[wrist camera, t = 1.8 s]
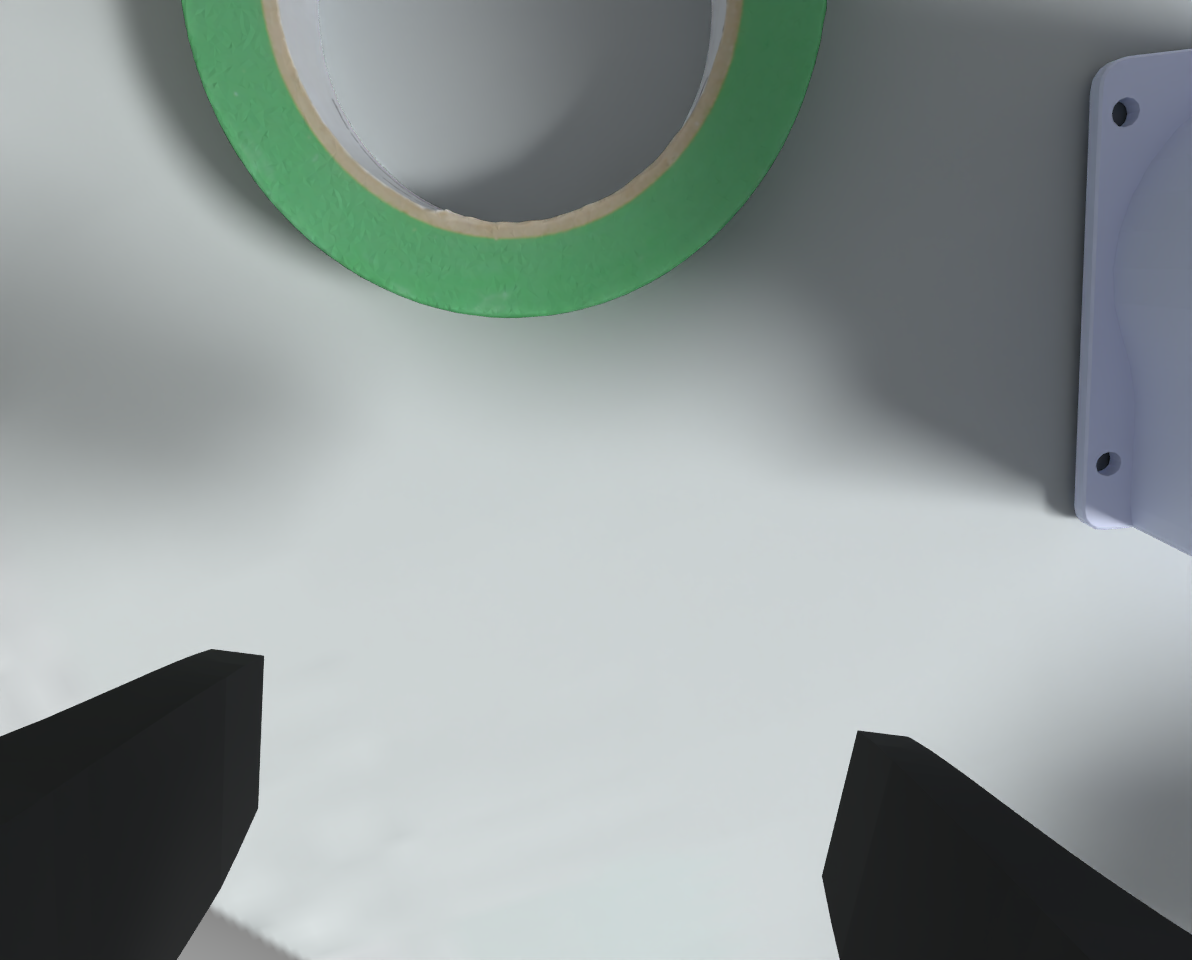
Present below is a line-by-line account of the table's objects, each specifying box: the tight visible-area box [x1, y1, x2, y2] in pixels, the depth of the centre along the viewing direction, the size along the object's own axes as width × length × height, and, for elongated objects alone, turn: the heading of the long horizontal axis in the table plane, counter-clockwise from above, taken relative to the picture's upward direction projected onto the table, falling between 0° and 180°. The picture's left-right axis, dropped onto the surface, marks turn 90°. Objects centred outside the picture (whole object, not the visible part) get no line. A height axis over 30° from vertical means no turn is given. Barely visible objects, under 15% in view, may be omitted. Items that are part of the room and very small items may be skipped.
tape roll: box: [181, 0, 827, 318], centre depth 15 cm, size 11×11×3 cm
